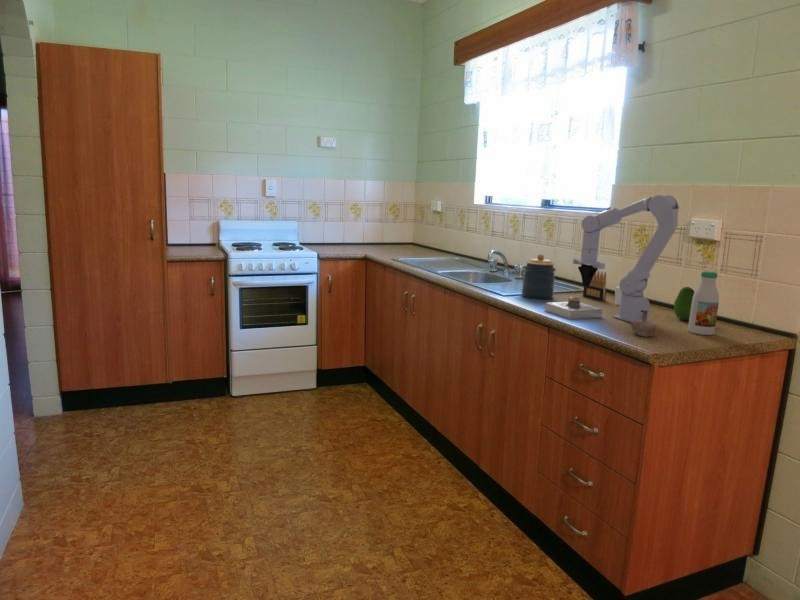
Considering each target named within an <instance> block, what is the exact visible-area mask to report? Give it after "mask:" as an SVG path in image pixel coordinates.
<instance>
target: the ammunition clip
mask: <svg viewBox="0 0 800 600" xmlns="http://www.w3.org/2000/svg"><path fill="white" fill-rule="evenodd" d="M606 296H607V272H606V271H604V273H603V270H602V271H601V272H600V271H599V270H597V271H596V273H595V274H594V276H593V278H592V280H591V283H590V286H583V293H582V297H583V298H587V299H592V300H596V301H600V302H606V298H607V297H606Z"/></svg>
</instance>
